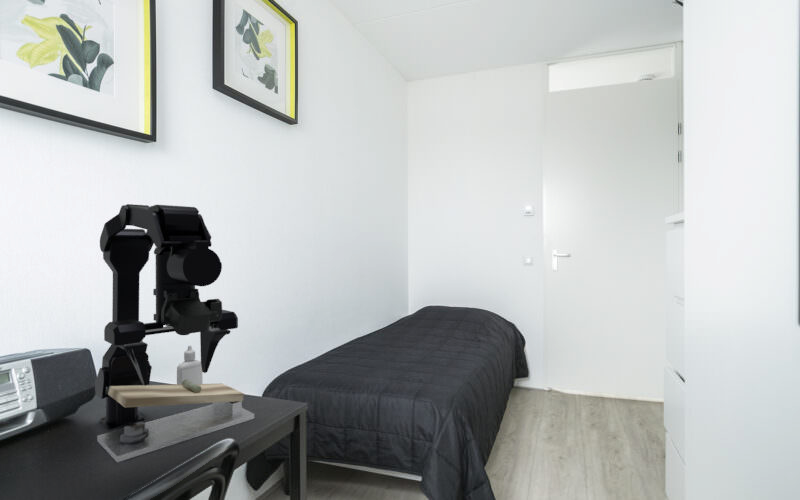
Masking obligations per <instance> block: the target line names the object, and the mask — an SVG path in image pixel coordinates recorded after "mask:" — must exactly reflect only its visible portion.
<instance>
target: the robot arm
mask: <svg viewBox="0 0 800 500" xmlns="http://www.w3.org/2000/svg"><path fill="white" fill-rule="evenodd" d="M127 226H128V227H129V226H131V227H135V228H127ZM136 227H137V228H136ZM145 230H146V231H145ZM211 239H212V236H211V233H210V232H209V229H208V228H207V225H206V224H205V221H204V218H203V216H202V214H200V211H199V210H198V208H197V207H195V206H181V205H167V204H154V205H151V206H149V205H148V204H146V205H143V204H129V203H127V204H123V205H121V206H120V209H119V212H118V213H117V214H116V215H115V216H113V217H112V218H109V220H108V221H106V222H105V223H104V225H103V227H102V231H101V234H100V238H99V248H100V251H101V252H102V256H103V257H102V259H103V261H104V263H106V264H107V266H108V268H109V269H110V270H111V272H112V312H111V313H112V316H111V317H112V321H109V322H108V323H107V324H106V325H105V327H104V329H103V332H104V333H103V334H104V335H103V336H104V339H103V340H104V342H107V343H108V344H110V346H109V347H108V349H107V350H106V352H105V353H104V354H103V355H102V360H101V367H100V368H99V369H98V370H99V371H98V372H97V376H96V379H95V381H94V391H95V395H96V396H98V398H100V399H102V400H103V399H105V417H102V418H100V419H99V422H100V423H101V424H103V426H104V427H106V429H108V430H113V429H116V428H120V427H123V426H124V427H125V426H126V425H127V424H130V423H133V422H144V421H145V420H146V419H145V416H144V415H142V414H141V413H139V407H126V408H125V407H124V406H122V405H121V404H120V403H118V402H117V401H116V400H115V399H113V398H112V397H111V396H109V395H108V392H109V388H110V386H134V385H144V386H146V385H150V381H151V373H152V365H151V363H150V361H149V355H148V353H147V350H148V349H147V348H148V346H149V345H148V343H147V342H145V341H144V339H145V338H146V336H151V335H156V334H157V335H159V334H165V333H174V332H175V333H176V334H177V335H178V336H179V335H180V336H188V335H190V334H194V333H195V334H196V333H199V336H200V337H199V338H200V340H199V342H200V362H201V367H202V373H204V374H206V373H208V371H209V369H210V365H211V363H212V361H213V360H212V359H213V357H214V354H215V352H216V349H217V346H218V345H219V343H220V341H221V340H222V339H223V338H224V337H225V336H226V335H230V334H231V330H233V329H238V327H239V317H238V316H237V313H235V311H231V310H225V309H223V302H222V301H221V300H220V298H213V299H207V300H205V301H201V299H200V292H199V288H196V287H206V286H209V285H212V284H214V283H215V282H216V281H217V280H218V278H219V277H220V275H221V272H222V269H223V266H222V265H223V264H222V263H223V262H221V259H220V257H219V256H218V254H217V253H216V252H215V251H214V250H213V249H210V248H211V247H212V241H211ZM153 246H155V248H154V250H153V254H154V255H155V288H153V294H152V295H153V296H155V313H153V321H154V322H148V323H147V322H145V323H144V322H143V321H140V273H141V271H142V270H143V269H144V267H145V266H146V264H147V263H148V262H149V259H150V252H151V250H152V248H153ZM209 247H210V248H209Z"/></svg>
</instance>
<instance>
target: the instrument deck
mask: <svg viewBox="0 0 800 500" xmlns="http://www.w3.org/2000/svg"><path fill="white" fill-rule="evenodd" d="M108 395H109V396H111V397H112V398H113V399H115V400H116V401H117V402H118V403H120V404H121V405H122V406H124V407H125V408H126V407H138V408H142V407H156V406H157V407H159V406H177V405H178V406H179V405H194V404H213V403H216V402H233V401H242V402H244V396H245V393H244V392H241V391H239V390H237V389H235V388H234V387H233V388H232V387H230V386H229V385H227V384H224V383H221V382H220V383H202V384H195V383H193V382H191V381H189V380H184V381H183V382H182V384H178V385H177V384H149V385H146V386H144V385H134V386H110V388H109V392H108Z"/></svg>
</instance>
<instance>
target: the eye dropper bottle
mask: <svg viewBox="0 0 800 500" xmlns="http://www.w3.org/2000/svg"><path fill="white" fill-rule="evenodd" d="M183 358H184V359H183V360H184V361H182V362H181V363H179V364H178V365H177V367H176V385H178V384H182V382H183V381H184V380H189V381H191V382H193V383H195V384H203V372H202V367H201V360H197V359H196V350H193V347H192V345H188V346H187V350H185V351H184V352H183Z"/></svg>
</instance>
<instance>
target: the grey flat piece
mask: <svg viewBox="0 0 800 500" xmlns="http://www.w3.org/2000/svg"><path fill="white" fill-rule="evenodd" d="M242 403H243V401H233V402H216V403H211V404H208V405H205V406H201V407H198V408H194V409H191V410H186V411H183V412H179V413H175V414H172V415H168V416H165V417H160V418H157V419H154V420H150V421H146V422H144V421H139V422H133V423H130V424H127V425H124V428H121V429H117V430H114V431H113V430H112V431H109V432H106V433H103V434H98V435H97V436H96V437H97V439H96V440H97V443H98V444H99V445H100V446H101V447H102V448H103V449H104V450H105V451H106V453H108V455H110V456H111V458H112V459H113V460H114V461H115V462H116V463H121V462H123V461H126V460H128V459H132V458H136V457H138V456H142V455H144V454H147V453H151V452H154V451H158V450H160V449H163V448H167V447H171V446H173V445H176V444H179V443H182V442H186V441H189V440H192V439H194V438H198V437H200V436H203V435H204V436H205V435H207V434H210V433H213V432H217V431H220V430H222V429H226V428H228V427H232V426H235V425H236V426H237V425H238V424H239V425H240V424H241V423H244V422H249V421H251V420H253V419H255V413H253V412H251V411H250V410H247V409H245V408H244V407H243V406H242Z"/></svg>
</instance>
